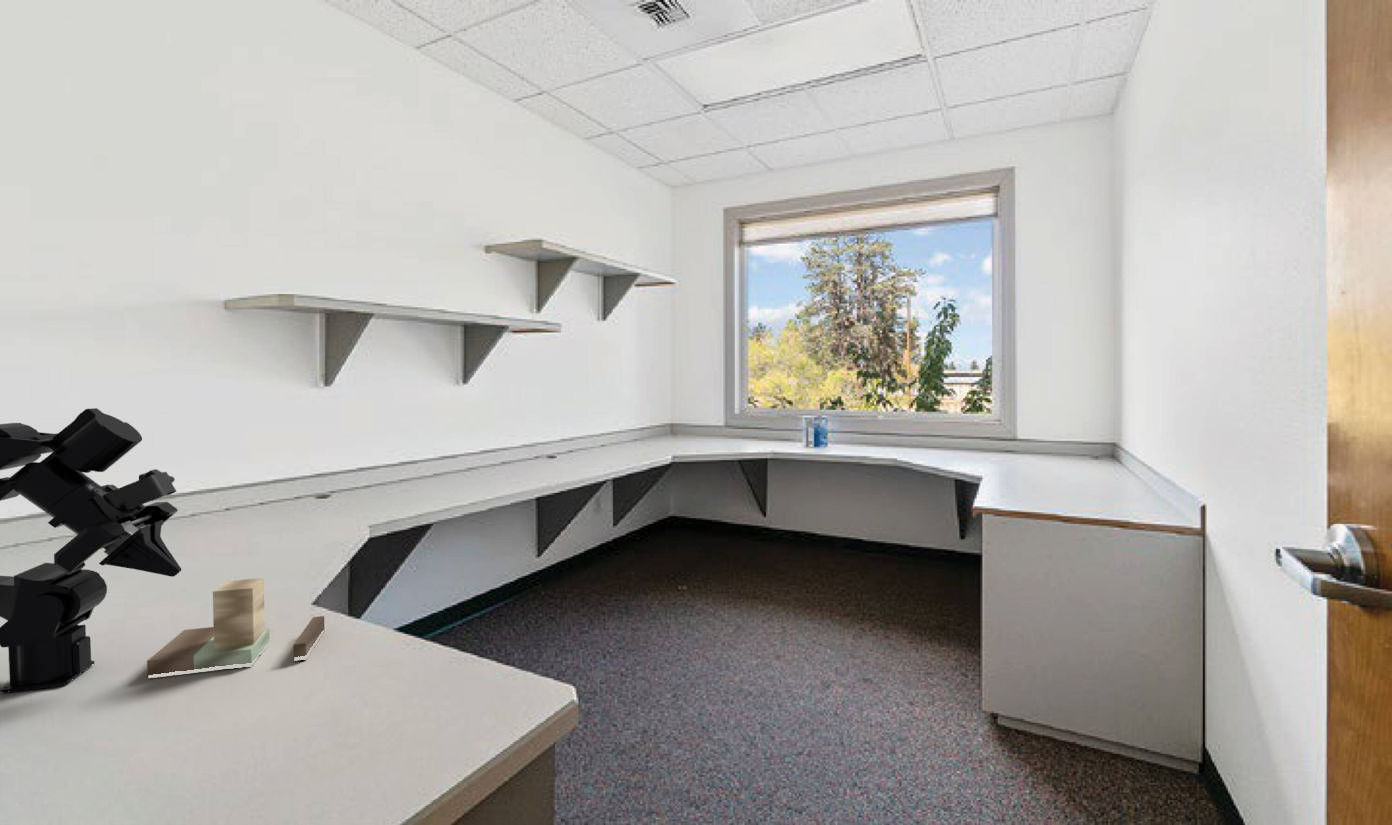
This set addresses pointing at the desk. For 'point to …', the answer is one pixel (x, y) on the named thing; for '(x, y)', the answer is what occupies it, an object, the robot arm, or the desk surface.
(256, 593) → the beech block
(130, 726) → the desk surface
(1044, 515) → the desk surface
